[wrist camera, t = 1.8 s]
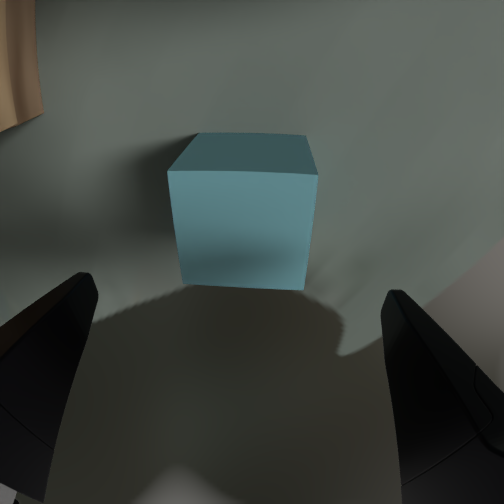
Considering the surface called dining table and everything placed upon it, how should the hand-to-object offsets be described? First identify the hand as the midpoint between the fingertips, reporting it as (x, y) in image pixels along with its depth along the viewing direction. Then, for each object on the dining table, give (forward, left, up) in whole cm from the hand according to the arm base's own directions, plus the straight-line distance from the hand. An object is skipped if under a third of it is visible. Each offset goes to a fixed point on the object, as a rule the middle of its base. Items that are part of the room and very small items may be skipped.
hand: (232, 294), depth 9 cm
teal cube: (0, 0, -8) cm, 8 cm away
